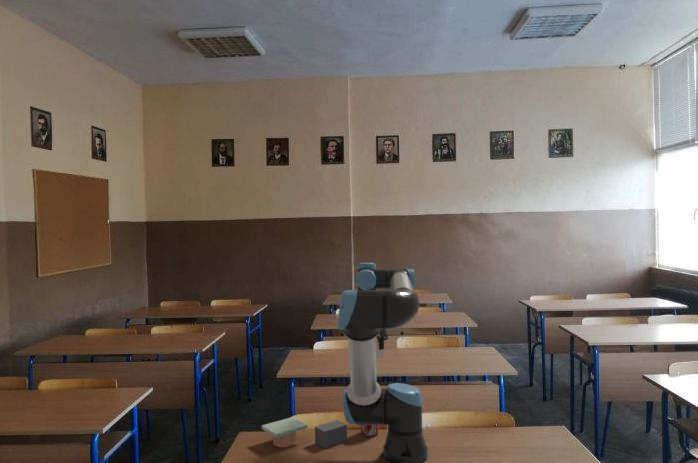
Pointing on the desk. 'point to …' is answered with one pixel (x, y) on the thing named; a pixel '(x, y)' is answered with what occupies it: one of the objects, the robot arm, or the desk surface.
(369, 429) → the soda can
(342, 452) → the desk surface
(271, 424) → the lid
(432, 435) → the desk surface
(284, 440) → the pink ceramic pot
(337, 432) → the dark grey rectangular block
